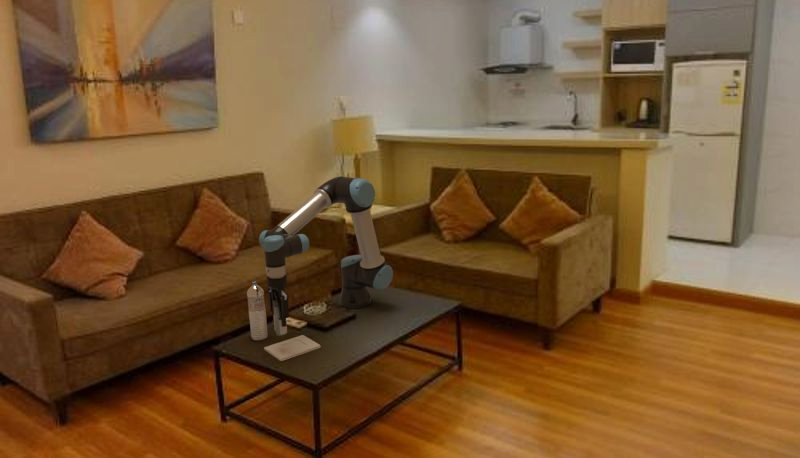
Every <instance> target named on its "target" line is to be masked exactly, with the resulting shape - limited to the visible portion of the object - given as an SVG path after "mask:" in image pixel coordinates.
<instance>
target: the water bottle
mask: <svg viewBox="0 0 800 458" xmlns="http://www.w3.org/2000/svg"><path fill="white" fill-rule="evenodd" d="M251 284H252V285H251V286H250V287H249V288H248V289H247V292H246V295H247V305H248V316H249V317H248V318H249V325H250V336H251V337H250V338H251V340H253V341H256V342H257V341H264V340H265V339H267V338H268V335H269V334H268V325H267V324H268V323H267V312H266V305H265V291H264V289H263V288H262V287H261V286H260V285H258V282H257V281H256V280H254V281H252V282H251Z"/></svg>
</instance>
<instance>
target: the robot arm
mask: <svg viewBox="0 0 800 458" xmlns="http://www.w3.org/2000/svg"><path fill="white" fill-rule="evenodd" d="M375 197H376V189H375V187H374V184H372V183H371V182H370V180H367V179H364V178H360V177H349V176H348V177H347V176H336V177H333V178H331V179H329V180H327V181H326V182H324V183H323V184H320V186H318V187H317V188H316V189H314V191H313V195H311V196H310V197H309V198H308V199H307V200H306V201H304V202H303V203H302V204H301V205H299V207H297V208H296V209H295V210H293V212H291V214H289V215H288V216H286V217H285V218H284V219H283V220H282V221H280V222H279V224H277V225H276V226H275V227H273V228H272V229H267V230H265V229H264V230H263V231H261V232H260V234H259V237H258V242H259V245H260V246H261V247H262V248H263V251H264V261H265V272H266V276H267V277H266V285H267V288H266V289H267V294H268V301H269V302H268V303H269V311H270V313H271V312H272V313H271V314H272V315H273V325H274V326H273V328H274V331H275V332H276V328H275V318H274V307H273V300H276V302H278V309H279V315H280V318H278V319H279V326H280V334H281V336H283V335H282V334H285V333H286V334H287V333H288V325H287V319H289V318H290V309H289V307H290V306H289V296H290V295H289V293H288V294H286V291H285V287H286V286H287V284H288V279H287V265H286V259H287V258H288V259H289V258H291V257H294V256H296V255H302V254H303V253H306V252H307V251H309V249H310V241H309V237H308V236H307V235H306V234H304V233H298V232H300V230H302V229H303V228H304V227H305V226H306V225H307V224H308V223H310V222H311V221H312V220H313V219H314V218H315V217H316V216H317V215H319V214H321V212H322V211H323V210H324V209H327V208H330V207H331V206H333V205H335V204H338V203H339V204H343V205H344V207H345V210H346V212H347V213H348V214H350V215H351V220H352V224H353V228H354V232H355V236H356V240H357V245H358V248H359V253H360V254H353V255H348V256H345V257H343V258H342V259H341V260H340V273H341V274H340V275H341V285H342V286H341V287H342V288H341V292H340V296H339V299H338V300H339V305H340V306H341V305H342V306H345V307H347V308H346V309H362V308H365V307H368V306H370V305H371V303H372V297H371V294H370V292H369V288H371V289H374V290H380V291H381V290H384V289H387V288H388V287H389V286H390V284H391V282H392V280H393V277H394V271H393V268H392V267H391V266H390V264H386V260H385V257H384V255H381V253H380V252H381V251H380V247H379V243H378V240H377V239H378V238H377V235H376V230H375V227H374V222H373V218H372V214H371V213H372V212H371V209H372V207H373V204H374V202H375ZM297 233H298V234H297ZM295 234H296V235H295ZM279 299H280V300H279ZM342 306H341V307H342ZM345 307H344V308H345ZM286 334H285V335H286Z"/></svg>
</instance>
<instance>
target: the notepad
mask: <svg viewBox="0 0 800 458" xmlns="http://www.w3.org/2000/svg"><path fill="white" fill-rule="evenodd" d="M320 348H321V345H320V344H319V343H318V342H315V341H314V340H312V339H311V338H309V337H307V336H305V335H304V334H301V335H298V336H295V337H292V338H289V339H286V340H283V341H280V342H277V343H273V344H271V345H268V346H264V347H263V349H264V351H266V352H267V353H268V354H270V355H271V356H272V357H274V358H276V359H277V360H278V361H280V362H282V361H283V362H284V361H285V360H289V359H291V358H294V357H297V356H300V355H304V354H306V353H310V352H312V351H315V350H317V349H318V350H319V349H320Z"/></svg>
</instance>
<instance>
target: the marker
mask: <svg viewBox="0 0 800 458" xmlns="http://www.w3.org/2000/svg"><path fill="white" fill-rule="evenodd" d="M279 300H280V299H279ZM273 307H274V316H273V319H274V318H275V328H276V331H275V335H276V336H284V335H287V333H285V334H282V335H281V334H280V326H279V319H278V318H280V315H279V309H278V302H276V300H273ZM275 328H274V329H275Z"/></svg>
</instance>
